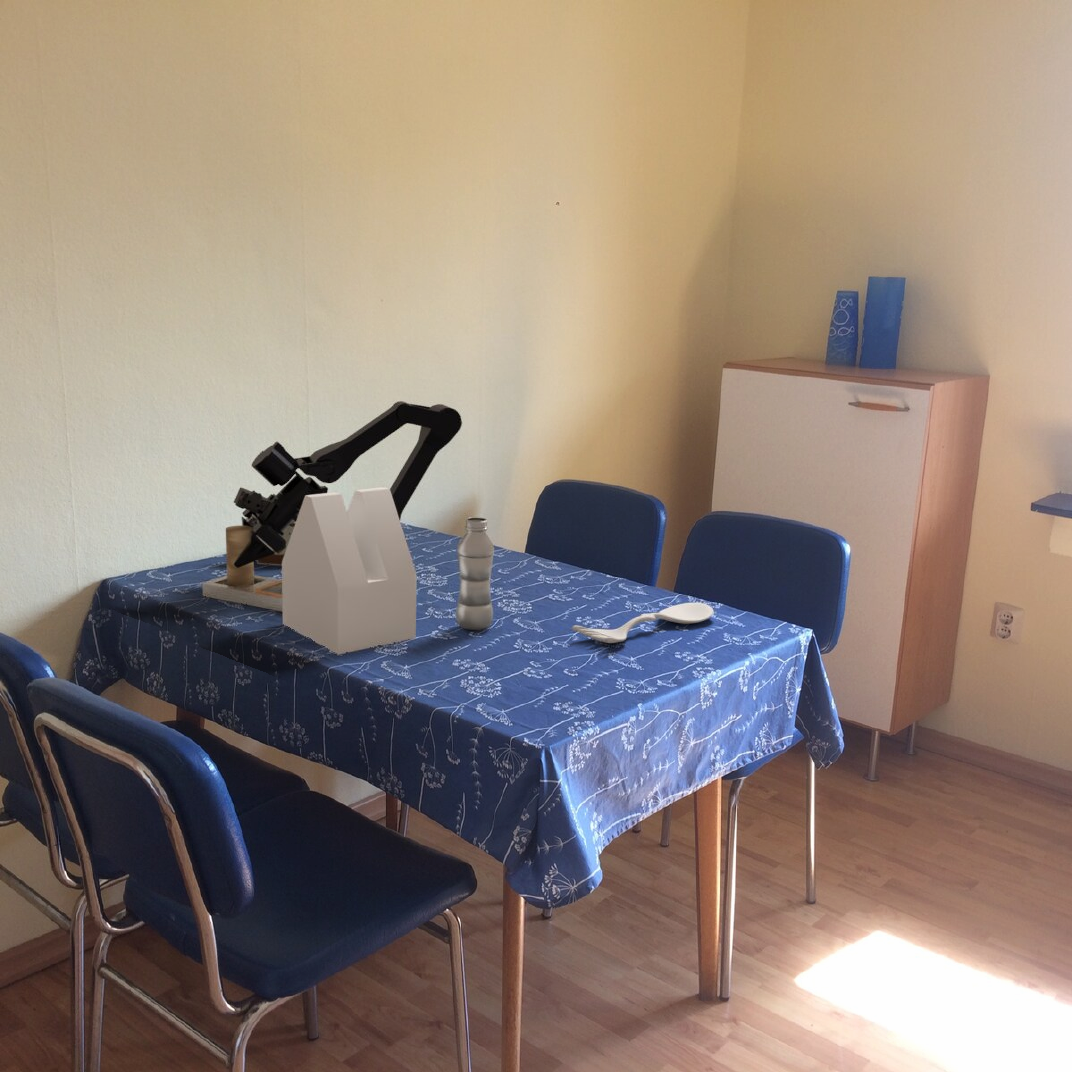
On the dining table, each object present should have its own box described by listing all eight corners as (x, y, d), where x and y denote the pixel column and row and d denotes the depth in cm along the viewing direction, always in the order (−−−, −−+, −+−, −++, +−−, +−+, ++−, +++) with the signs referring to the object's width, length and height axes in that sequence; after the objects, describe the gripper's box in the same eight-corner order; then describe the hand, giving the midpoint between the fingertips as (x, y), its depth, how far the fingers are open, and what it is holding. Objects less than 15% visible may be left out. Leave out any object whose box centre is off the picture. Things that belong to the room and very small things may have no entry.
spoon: (569, 642, 194) (570, 623, 193) (685, 610, 216) (686, 593, 215) (607, 656, 188) (608, 636, 187) (722, 622, 209) (724, 604, 209)
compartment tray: (324, 600, 212) (324, 586, 212) (292, 613, 204) (291, 598, 203) (237, 584, 221) (237, 570, 220) (202, 595, 212) (202, 581, 211)
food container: (315, 559, 242) (315, 515, 239) (307, 567, 236) (306, 521, 233) (260, 556, 243) (259, 511, 240) (250, 563, 237) (249, 517, 234)
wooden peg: (259, 592, 216) (258, 527, 213) (242, 599, 211) (241, 532, 208) (239, 588, 218) (237, 524, 215) (221, 595, 213) (220, 529, 210)
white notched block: (415, 638, 193) (417, 497, 187) (338, 655, 183) (337, 506, 177) (357, 611, 207) (357, 479, 201) (282, 625, 197) (280, 486, 192)
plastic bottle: (495, 633, 197) (498, 523, 192) (456, 634, 195) (459, 523, 191) (490, 622, 203) (493, 515, 198) (453, 623, 202) (455, 515, 197)
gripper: (252, 465, 219) (196, 522, 217) (267, 482, 202) (205, 544, 201) (293, 503, 224) (238, 559, 222) (310, 523, 207) (251, 583, 205)
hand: (232, 560), depth 212 cm, fingers open, 8 cm apart
